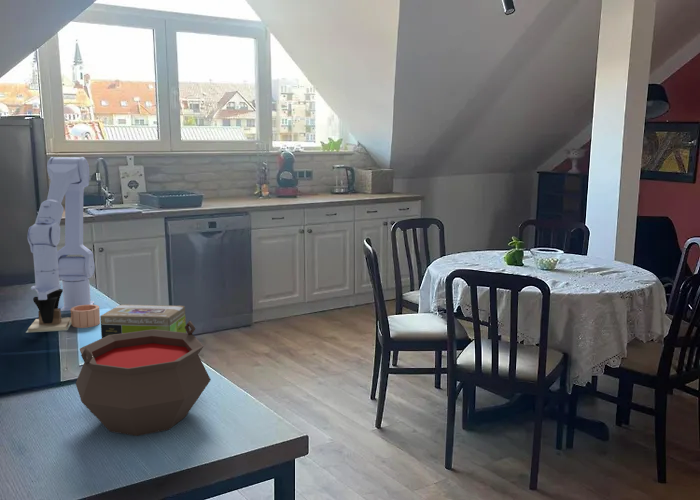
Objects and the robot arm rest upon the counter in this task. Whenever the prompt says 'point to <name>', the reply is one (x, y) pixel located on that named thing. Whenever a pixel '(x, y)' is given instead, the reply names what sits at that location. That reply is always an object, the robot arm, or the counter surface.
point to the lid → (55, 325)
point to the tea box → (143, 319)
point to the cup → (85, 316)
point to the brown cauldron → (142, 379)
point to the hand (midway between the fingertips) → (50, 319)
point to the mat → (52, 330)
